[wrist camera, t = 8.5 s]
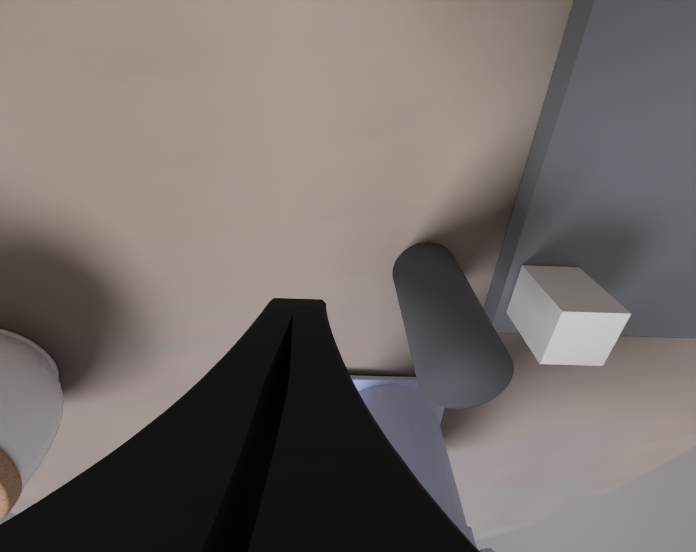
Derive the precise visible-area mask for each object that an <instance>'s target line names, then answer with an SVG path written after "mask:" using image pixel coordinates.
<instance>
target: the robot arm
mask: <svg viewBox="0 0 696 552" xmlns="http://www.w3.org/2000/svg"><path fill="white" fill-rule="evenodd" d="M444 409H445V407H441V406H438V405H436V404H434V403H432V402H430V401H429V400H427V399H426V398H425V397H424V396H423V394H422V393H421V391H420V389H419V386H418V382H417V377H395V376H354V375H349V373H348V371H347V369H346V366H345V364H344V362H343V360H342V357H341V355H340V353H339V350H338V348H337V345H336V343H335V340H334V337H333V335H332V331H331V328H330V325H329V321H328V317H327V312H326V303H325V302H324V301H323V300H315V299H284V298H274V299H272V300H271V301H270V302H269V303H268V305H267V306H266V307H265V309H264V310H263V311H262V313H261V314H260V315H259V316H258V318H257V319H256V320H255V321H254V323H253V324H252V325H251V326H250V328H249V329H248V330H247V331H246V332H245V333H244V335H243V336H242V337H241V338H240V339H239V340H238V341H237V342H236V344H235V345H234V346H233V347H232V348H231V349H230V350H229V351H228V353H227V354H226V355H225V356H224V357H223V358H222V359H221V360H220V361H219V362H218V363H217V364H216V365H215V366H214V367H213V368H212V369H211V370H210V371H209V372H208V373H207V374H206V375H205V376H204V377H203V378H202V379H201V380H200V381H199V382H198V383H197V384H196V385H194V386H193V387H192V388H191V389H190V390H189V391H188V392H187V393H186V394H185V395H184V396H182V397H181V398H180V399H179V400H178V401H177V402H175V403H174V404H173V405H172V406H171V407H170V408H168V409H167V410H166V411H165V412H164V413H162V414H161V415H160V416H159V417H157V418H156V419H155V420H154V421H152V422H151V423H150V424H149V425H147V426H146V427H145V428H144V429H142V430H141V431H140V432H138V433H137V434H136V435H135V436H133V437H132V438H131V439H129V440H128V441H127V442H125V443H124V444H123V445H121V446H120V447H119V448H117V449H116V450H115V451H113V452H112V453H110V454H109V455H108V456H106V457H105V458H103V459H102V460H100V461H99V462H97V463H96V464H94V465H93V466H91V467H90V468H89V469H87V470H86V471H84V472H83V473H81V474H80V475H78V476H77V477H75V478H74V479H72V480H71V481H69V482H68V483H66V484H65V485H63V486H62V487H60V488H59V489H57V490H56V491H54V492H52V493H51V494H49V495H48V496H46V497H45V498H43V499H42V500H40V501H38V502H37V503H35V504H34V505H32V506H30V507H29V508H27V509H26V510H24V511H22V512H21V513H19V514H17V515H16V516H14V517H12V518H11V519H9V520H7V521H6V522H4V523H2V524H1V525H0V552H494V551H493V550H492V549H491V548H485V549H480V551H479V550H478V549H477V548H476V544H475V540H474V537H473V533H472V529H471V527H469V526H468V527H467V524H466V521H465V517H464V513H463V509H462V506H461V502H460V498H459V494H458V491H457V487H456V483H455V480H454V476H453V472H452V468H451V465H450V461H449V457H448V454H447V450H446V446H445V442H444V439H443V435H442V431H441V427H440V423H441V420H442V416H443V412H444Z"/></svg>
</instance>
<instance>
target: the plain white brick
mask: <svg viewBox="0 0 696 552" xmlns="http://www.w3.org/2000/svg"><path fill="white" fill-rule="evenodd" d="M506 313H507V314H508V316H509V317H510V319H511V321H512V322H513V324H514V325H515V327H516V328H517V330H518V331H519V333H520V334H521V336H522V337H523V339H524V341H525V342H526V344H527V345H528V347H529V348H530V350H531V351H532V353H533V354H534V356H535V358H536V359H537V361H538V362H539V364H553V365H591V366H603V365H604V363H605V361H606V359H607V358H608V356H609V354H610V352H611V350H612V348H613V347H614V345H615V343H616V341H617V339H618V337H619V336H620V334H621V332H622V330H623V328H624V326H625V325H626V323H627V321H628V319H629V317H630V316H631V313H630V312H629V311H628V310H627V309H626V308H625V307H623V306H622V305H621V304H620V303H619V302H618V301H617V300H616V299H614V298H613V297H612V296H611V295H610V294H609V293H608V292H606V291H605V290H604V289H603V288H602V287H601V286H600V285H599V284H597V283H596V282H595V281H594V280H593V279H592V278H591V277H589V276H588V275H587V274H586V273H585V272H584V271H583V270H582V269H580V268H579V267H558V266H531V265H522V267H521V270H520V273H519V276H518V279H517V282H516V285H515V288H514V291H513V294H512V297H511V300H510V303H509V306H508V309H507V312H506Z"/></svg>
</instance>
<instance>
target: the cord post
mask: <svg viewBox="0 0 696 552" xmlns="http://www.w3.org/2000/svg"><path fill="white" fill-rule="evenodd" d="M393 280H394V284H395V288H396V292H397V297H398V301H399V305H400V309H401V314H402V318H403V322H404V326H405V331H406V335H407V339H408V343H409V348H410V352H411V356H412V360H413V365H414V369H415V373H416V377H417V382H418V386H419V389H420V391H421V393H422V394H423V396H424V397H425V398H426V399H427V400H429V401H430V402H432V403H434V404H436V405H438V406H441V407H445V408H452V409H463V408H470V407H474V406H478V405H481V404H483V403H486V402H488V401H490V400H492V399H493V398H495V397H496V396H498V395H499V394H500V393H501V392H502V391H503V390H504V389H505V388H506V387H507V386H508V384H509V383H510V381H511V378H512V375H513V370H514V367H513V362H512V359H511V357H510V355H509V353H508V351H507V350H506V348H505V346H504V344H503V343H502V341H501V339H500V337H499V336H498V334H497V332H496V330H495V329H494V327H493V325H492V323H491V321H490V320H489V318H488V316H487V314H486V313H485V311H484V309H483V307H482V306H481V304H480V302H479V300H478V298H477V297H476V295H475V293H474V291H473V290H472V288H471V286H470V284H469V283H468V281H467V279H466V277H465V275H464V274H463V272H462V270H461V268H460V267H459V265H458V263H457V261H456V260H455V258H454V256H453V254H452V253H451V252H450V251H449V250H448V249H447V248H445V247H443V246H442V245H439V244H435V243H421V244H417V245H414V246H412V247H410V248H408V249H407V250H405V251H404V252H403V253H402V254H401V255H400V256H399V257H398V259H397V260H396V262H395V264H394V267H393Z"/></svg>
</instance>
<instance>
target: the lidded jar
mask: <svg viewBox="0 0 696 552" xmlns="http://www.w3.org/2000/svg"><path fill="white" fill-rule="evenodd" d="M59 377H60V376H59V370H58V367H57V365H56V363H55V361H54V360H53V358H52V357H51V356H50V355H49V354H48V353H47V352H46V351H45V350H44V349H43V348H42V347H40V346H39V345H38V344H36V343H35V342H33V341H32V340H30V339H28V338H26V337H24V336H22V335H20V334H17V333H15V332H11V331H8V330H5V329H0V522H1V521H2V520H3V519H4V518H5V517H6V516H7V514H8V513H9V512H10V510H11V509H12V508H13V506H14V505H15V503H16V502H17V500H18V498H19V496H20V494H21V492H22V490H23V489H24V487H25V486H26V485H27V483H28V482H29V481H30V479H31V478H32V476H33V475H34V473H35V472H36V470H37V469H38V467H39V466H40V464H41V463H42V461H43V459H44V458H45V456H46V454H47V452H48V450H49V449H50V447H51V445H52V443H53V441H54V438H55V436H56V434H57V431H58V429H59V427H60V422H61V418H62V413H63V392H62V388H61V385H60V382H59Z"/></svg>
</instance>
